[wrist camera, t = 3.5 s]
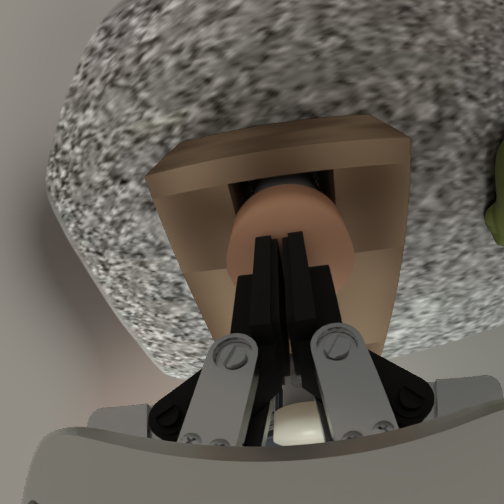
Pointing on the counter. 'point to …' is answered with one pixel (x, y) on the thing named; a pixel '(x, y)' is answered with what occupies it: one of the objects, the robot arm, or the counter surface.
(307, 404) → the knob cream
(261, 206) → the knob terracotta
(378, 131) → the wooden condiment caddy
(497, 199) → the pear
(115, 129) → the counter surface
